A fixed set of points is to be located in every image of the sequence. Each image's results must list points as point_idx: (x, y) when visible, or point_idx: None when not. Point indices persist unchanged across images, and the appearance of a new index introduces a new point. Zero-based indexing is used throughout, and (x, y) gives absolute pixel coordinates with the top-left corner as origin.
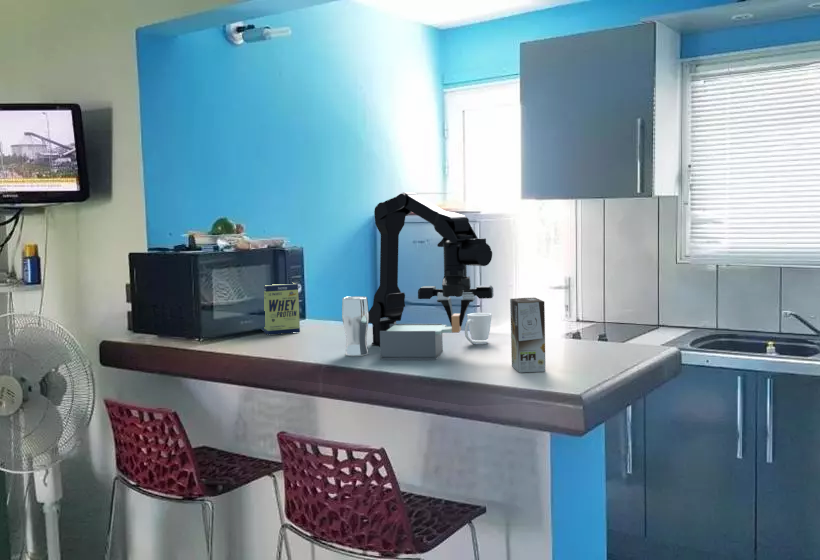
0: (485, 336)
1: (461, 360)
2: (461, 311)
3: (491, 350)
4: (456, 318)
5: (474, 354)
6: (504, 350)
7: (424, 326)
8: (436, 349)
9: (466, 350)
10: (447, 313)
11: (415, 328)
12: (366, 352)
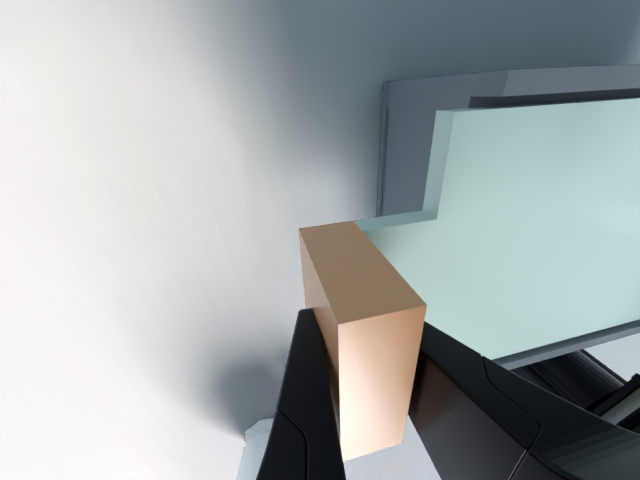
0: (246, 455)
1: (242, 76)
2: (322, 429)
3: (179, 344)
4: (355, 296)
5: (224, 253)
6: (119, 357)
7: (524, 316)
8: (404, 123)
9: (284, 322)
10: (482, 359)
11: (587, 242)
12: None
